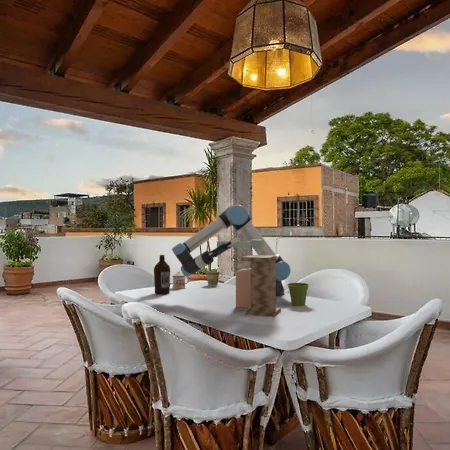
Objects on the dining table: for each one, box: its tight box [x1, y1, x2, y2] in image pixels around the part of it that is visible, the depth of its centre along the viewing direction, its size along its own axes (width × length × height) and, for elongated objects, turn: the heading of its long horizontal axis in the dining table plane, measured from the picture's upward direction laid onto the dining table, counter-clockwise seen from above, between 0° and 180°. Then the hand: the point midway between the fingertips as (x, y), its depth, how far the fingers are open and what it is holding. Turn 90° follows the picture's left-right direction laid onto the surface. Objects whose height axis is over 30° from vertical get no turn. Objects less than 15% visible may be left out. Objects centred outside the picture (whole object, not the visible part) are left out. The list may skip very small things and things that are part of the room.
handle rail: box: [216, 239, 265, 248], centre depth 210 cm, size 26×6×4 cm, turn 68°
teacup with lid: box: [172, 270, 190, 290], centre depth 269 cm, size 12×9×12 cm
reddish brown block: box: [235, 268, 251, 309], centre depth 207 cm, size 14×14×19 cm
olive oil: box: [153, 254, 171, 296], centre depth 246 cm, size 11×11×25 cm
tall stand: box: [240, 254, 282, 318], centre depth 189 cm, size 16×14×28 cm
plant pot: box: [286, 282, 310, 307], centre depth 207 cm, size 12×12×11 cm
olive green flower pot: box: [205, 270, 223, 287], centre depth 278 cm, size 13×10×10 cm
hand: (237, 239), depth 211 cm, fingers closed on handle rail, 4 cm apart
